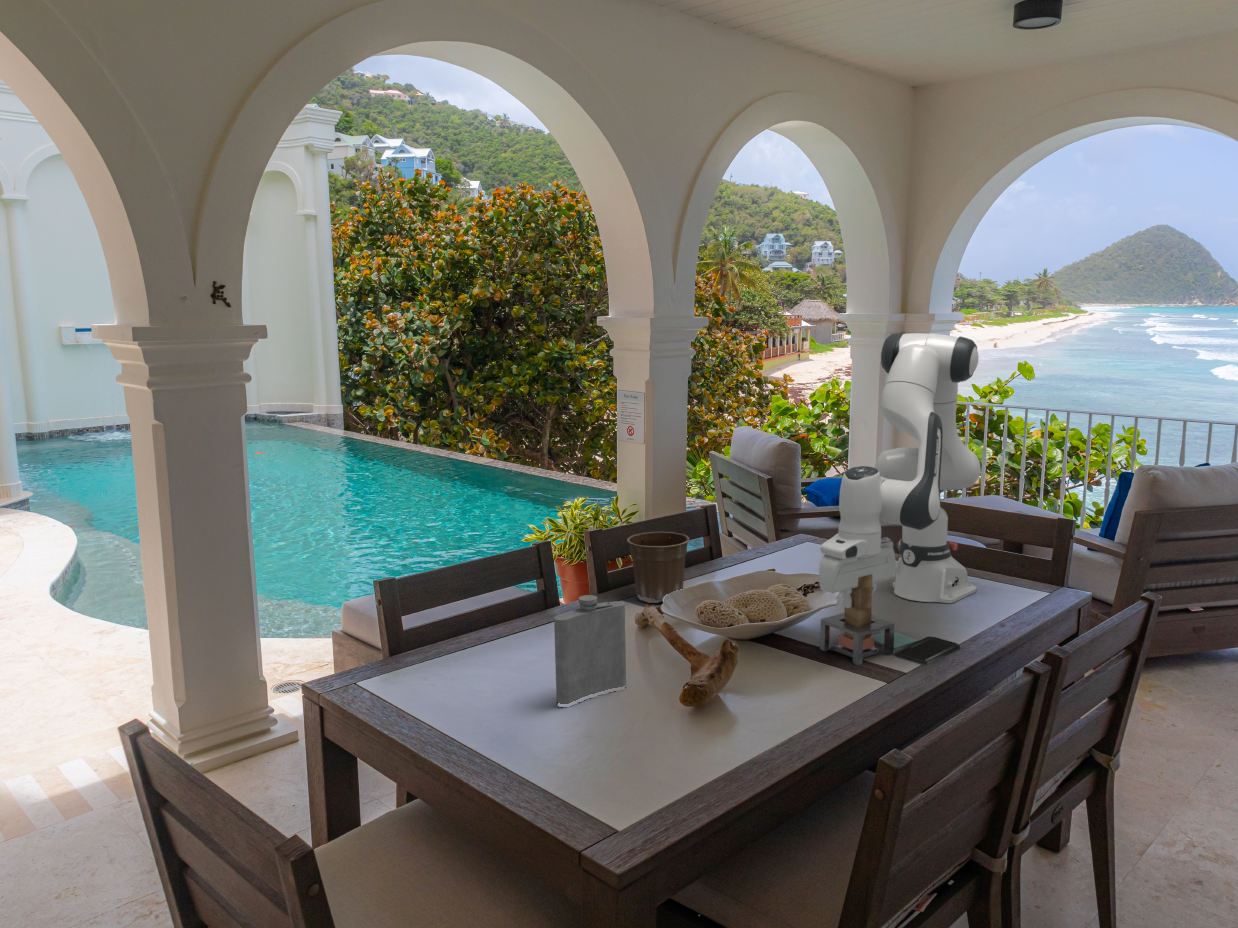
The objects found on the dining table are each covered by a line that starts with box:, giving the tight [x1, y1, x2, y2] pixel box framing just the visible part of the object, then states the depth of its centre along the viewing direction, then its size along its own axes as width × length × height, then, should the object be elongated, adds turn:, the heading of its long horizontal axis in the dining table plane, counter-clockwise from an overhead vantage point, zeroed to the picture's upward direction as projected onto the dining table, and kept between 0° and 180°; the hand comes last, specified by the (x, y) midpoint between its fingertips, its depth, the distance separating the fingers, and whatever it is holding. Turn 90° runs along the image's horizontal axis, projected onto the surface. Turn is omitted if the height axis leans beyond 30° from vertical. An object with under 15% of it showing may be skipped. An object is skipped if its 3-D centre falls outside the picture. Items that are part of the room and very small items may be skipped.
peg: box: [843, 575, 873, 639], centre depth 191 cm, size 4×4×14 cm
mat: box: [871, 631, 919, 651], centre depth 199 cm, size 8×8×1 cm
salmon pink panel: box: [838, 633, 875, 650], centre depth 192 cm, size 5×5×2 cm
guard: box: [819, 612, 895, 666], centre depth 192 cm, size 11×11×7 cm
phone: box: [894, 635, 961, 666], centre depth 192 cm, size 8×1×15 cm
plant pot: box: [626, 531, 690, 600], centre depth 232 cm, size 16×16×16 cm
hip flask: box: [553, 594, 627, 704], centre depth 171 cm, size 16×4×20 cm, turn 127°
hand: (857, 604), depth 191 cm, fingers closed on peg, 4 cm apart
